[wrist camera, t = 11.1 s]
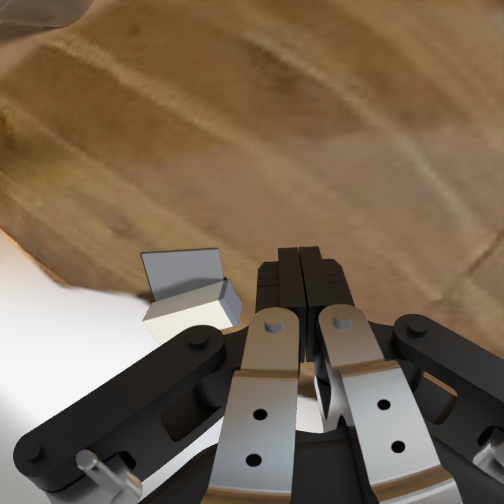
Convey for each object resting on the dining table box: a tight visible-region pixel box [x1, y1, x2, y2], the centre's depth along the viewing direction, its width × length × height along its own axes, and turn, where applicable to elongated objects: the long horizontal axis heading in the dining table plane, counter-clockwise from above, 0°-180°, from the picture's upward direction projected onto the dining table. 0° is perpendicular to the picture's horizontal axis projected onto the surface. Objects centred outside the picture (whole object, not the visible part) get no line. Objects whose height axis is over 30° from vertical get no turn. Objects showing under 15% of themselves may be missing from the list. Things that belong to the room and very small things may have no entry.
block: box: [143, 279, 242, 344], centre depth 45 cm, size 4×4×13 cm
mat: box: [142, 248, 224, 301], centre depth 46 cm, size 11×12×1 cm
